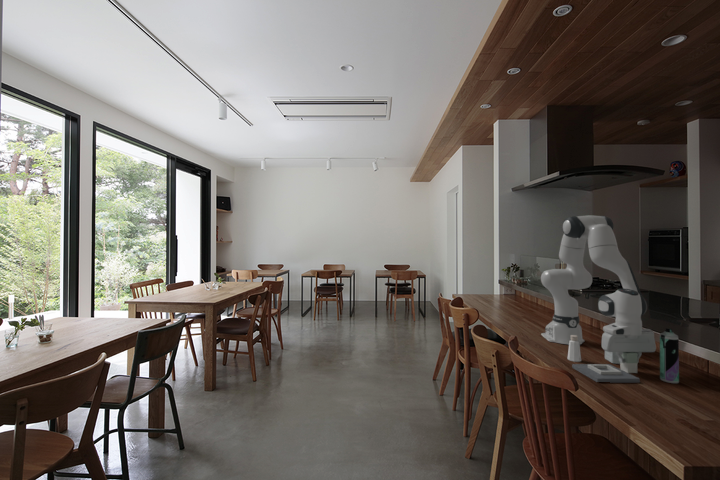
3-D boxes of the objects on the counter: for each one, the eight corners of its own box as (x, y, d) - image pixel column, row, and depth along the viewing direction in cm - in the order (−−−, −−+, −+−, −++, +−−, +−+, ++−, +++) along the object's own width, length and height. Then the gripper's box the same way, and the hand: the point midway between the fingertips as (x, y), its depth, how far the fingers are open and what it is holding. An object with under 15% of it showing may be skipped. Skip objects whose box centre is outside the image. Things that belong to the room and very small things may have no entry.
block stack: (620, 369, 148) (620, 350, 148) (629, 369, 148) (629, 350, 148) (627, 372, 144) (627, 353, 144) (637, 372, 144) (637, 353, 144)
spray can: (674, 384, 132) (674, 330, 132) (657, 379, 137) (656, 327, 137) (681, 381, 135) (681, 329, 135) (664, 376, 140) (663, 326, 140)
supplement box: (631, 364, 153) (631, 335, 154) (612, 363, 155) (611, 334, 155) (622, 359, 161) (622, 331, 161) (604, 358, 162) (603, 330, 162)
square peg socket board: (572, 367, 150) (572, 361, 150) (609, 367, 150) (609, 361, 150) (597, 382, 134) (597, 375, 134) (639, 382, 134) (639, 375, 134)
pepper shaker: (581, 362, 156) (581, 337, 156) (567, 360, 159) (567, 336, 159) (581, 359, 161) (581, 335, 161) (567, 357, 164) (567, 333, 164)
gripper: (647, 327, 149) (647, 359, 149) (598, 327, 149) (599, 359, 149) (660, 330, 143) (660, 365, 143) (609, 330, 143) (609, 364, 143)
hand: (628, 362), depth 146 cm, fingers closed on block stack, 4 cm apart
